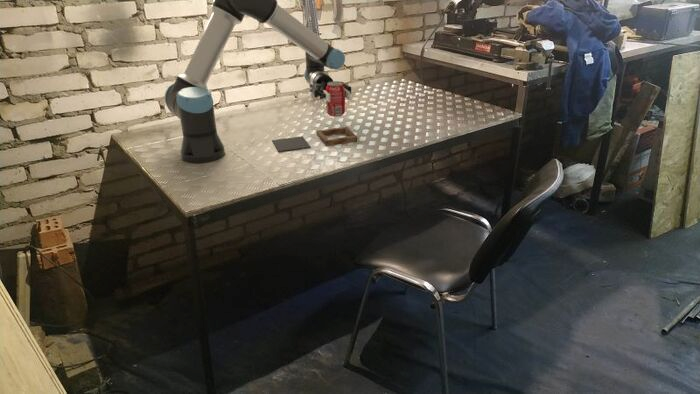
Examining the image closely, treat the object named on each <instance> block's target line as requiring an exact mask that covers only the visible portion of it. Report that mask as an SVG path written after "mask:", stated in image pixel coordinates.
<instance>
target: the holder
mask: <svg viewBox="0 0 700 394" xmlns="http://www.w3.org/2000/svg"><path fill="white" fill-rule="evenodd" d="M341 134H345V135H346V136H343V137H335V138H328V137H327V136H334V135H341ZM316 136H317V137H318V139H319V140H320V141H321V142H322V143H323V145H324V146H325V147H330V146H334V145H335V146H337V145H344V144H345V145H346V144H351V143H358V135H356V134H355V133H354V132H353V131H352V130H351V129H350V128H349V127H348V126H343V127H333V128H327V129H318V130H316Z"/></svg>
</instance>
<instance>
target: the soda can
mask: <svg viewBox="0 0 700 394" xmlns="http://www.w3.org/2000/svg"><path fill="white" fill-rule="evenodd" d="M342 82H343V81H336V80H333V82H328V83H327V84H328V85H327V87H326V91H327V92H328V93H329V94H330V102H328V101H327V100H326V99H325V105H326V107H325V108H326V109H325V110H326V114H327V115H329V116H330V117H333V118H336V117H337V118H338V117H342V116H343V115H345V113H346V97H345V88H344V86H343V83H344V82H343V83H342Z"/></svg>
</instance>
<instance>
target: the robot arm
mask: <svg viewBox="0 0 700 394" xmlns="http://www.w3.org/2000/svg"><path fill="white" fill-rule="evenodd" d="M210 7H211V11H212V14H211V16H210V18H209V20H208V22H207V25H205V26H206V27H205V28H204V30H203V33H202V35H201V37H200V39H199V41H198V43H197V46H196V47H195V49H194V52H193V54H192V56H191V58H190V60H189V63H188V64H187V67H186V69H185V71H184V72H183V73H181V74H178V75H177V77H176V79H175V81H174V83H171V84H170V85H169V86H168V87H167V88H166V91H165V93H164V102H165V106H166V107H167V109H168V111H169V112H171V114H172V115H174V116H176V118H178V119H179V121H180V126H181V132H182V142H181V148H180V156H181V159H182V161H184V162H187V163H192V164H202V163H203V164H204V163H208V162H213V161H217V160H219V159H221V158H222V157H224V156H225V154H226V150H225V146H224V144H223V142H222V140H221V138H220V136H219V134H218V131H217V124H216V123H217V121H216V117H215V110H214V109H215V108H214V107H215V106H214V99H213V95H212V93H211V91H210V90H209V89H208V86H207V84H208V82H209V80H210V78H211V77H212V74H213V72H214V69H216V68H215V67H216V65H217V63H218V61H219V59H220V57H221V55H222V53H223V51H224V48H225V47H226V44H227V42H228V40H229V38H230V36H231V35H232V32H233V30H234V28H235V26H236V25H239V24H241V23H242V22H243V19H244V18H245V16H246V17H250V18H252V19H254V20H256V21H257V22H259V23H260V24H266V25H268V26H270V27H271V28H272V29H273V30H275V31H276V32H278V33H279V34H281V35H282V36H283V37H285V38H286V40H289V41H290V42H291V43H293V44H294V45H296V46H297V47H299V48H300V49H301V50H302V51H304V53H305V54H304V55H305V71H304V74H303V76H304V80H305V81H306V82H307V84H309V91H310V92H311V93H312V94H313V97H315V98H318V97H319V100H323V99H324V100H325V101H326V100H327V101H328V102H330V94H329V93H328V92H327V91H326V87H327V85H328V84H327V83H328V82H333V81H334V80H333V78H332V77H331V76H330V75H329V74H328V73H326V72H325V67H326V68H328V69H330V70H339V69H341V68H342V67H343V66H344V64H345V61H346V56H345V53H344V52H343V51H342V50H340V49H338V48H335V47H333V45H331V44H330V43H328V42H327V41H326V40H324V39H323V38H321V37H320V36H319V35H318V34H317V33H315V32H314V31H313V30H311V28H309V27H308V26H306V25H305V24H304V23H302V22H301V21H299V19H297V18H296V17H294V16H293V15H292V14H291V13H289V12H288V11H287V10H285V9H284V8H283V7H281V6H280V5H279V4H278V0H213V1H212V3H211V6H210ZM341 82H342V83H343V86H344V88H345V99H347V100H348V101H351V96H352V95H351V94H352V87H351V86H350V85H348V84H347V83H344V81H341Z"/></svg>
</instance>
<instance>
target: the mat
mask: <svg viewBox="0 0 700 394" xmlns="http://www.w3.org/2000/svg"><path fill="white" fill-rule="evenodd" d="M271 141H272V144H273V146H274V147H275V149H276V151H277V152H278V153H283V152H292V151H298V150H305V149H306V150H307V149H311V146H310V143H308V142H307V140H306V138H304V136H294V137H285V138H280V139H272V140H271Z"/></svg>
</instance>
